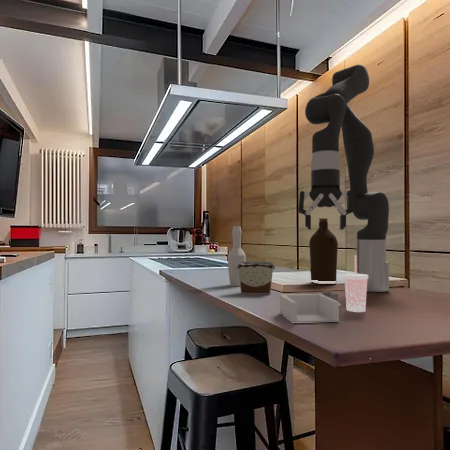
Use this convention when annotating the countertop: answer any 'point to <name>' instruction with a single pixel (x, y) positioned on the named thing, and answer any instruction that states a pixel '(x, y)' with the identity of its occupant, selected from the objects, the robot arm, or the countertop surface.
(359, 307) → the beverage cup
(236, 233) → the faceted bottle
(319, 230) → the olive oil
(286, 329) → the countertop surface
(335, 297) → the clip
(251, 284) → the food container
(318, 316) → the tray
